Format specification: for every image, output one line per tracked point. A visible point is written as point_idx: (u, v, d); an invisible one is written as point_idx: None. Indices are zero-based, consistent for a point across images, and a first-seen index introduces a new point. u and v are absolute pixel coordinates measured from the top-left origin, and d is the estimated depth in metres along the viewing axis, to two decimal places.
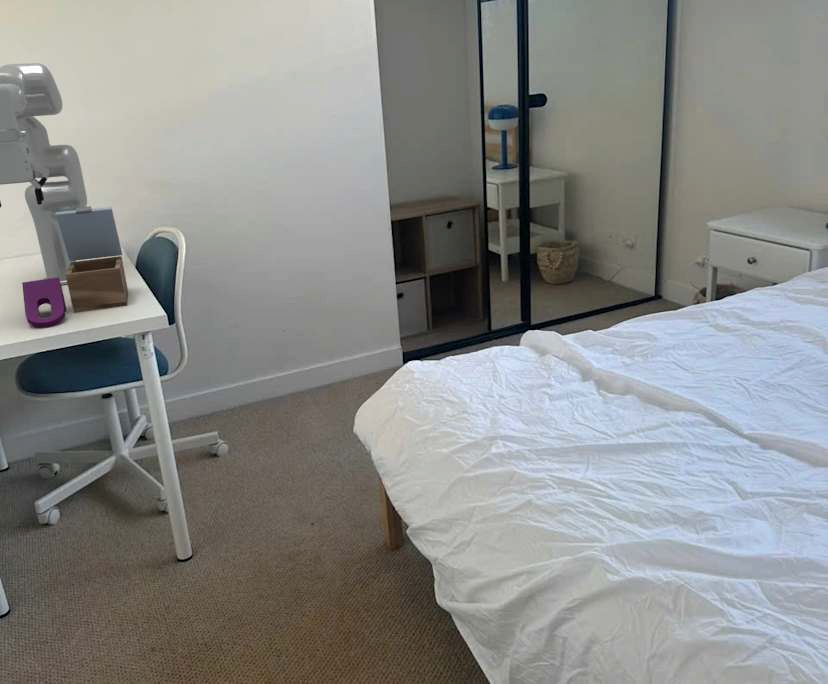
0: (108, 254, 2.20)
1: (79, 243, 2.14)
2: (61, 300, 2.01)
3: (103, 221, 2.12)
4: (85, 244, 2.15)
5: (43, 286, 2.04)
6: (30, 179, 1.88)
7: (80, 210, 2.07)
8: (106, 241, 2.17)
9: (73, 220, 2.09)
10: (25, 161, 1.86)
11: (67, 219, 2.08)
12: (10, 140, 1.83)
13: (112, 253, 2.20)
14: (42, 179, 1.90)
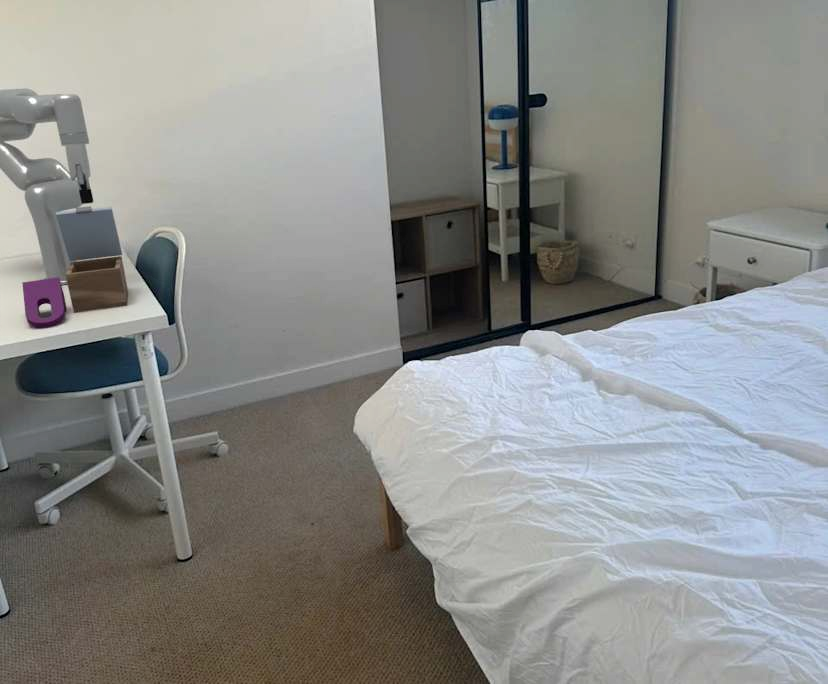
0: (108, 254, 2.20)
1: (79, 243, 2.14)
2: (61, 300, 2.01)
3: (103, 221, 2.12)
4: (85, 244, 2.15)
5: (43, 286, 2.04)
6: None
7: (80, 210, 2.07)
8: (106, 241, 2.17)
9: (73, 220, 2.09)
10: None
11: (67, 219, 2.08)
12: None
13: (112, 253, 2.20)
14: None
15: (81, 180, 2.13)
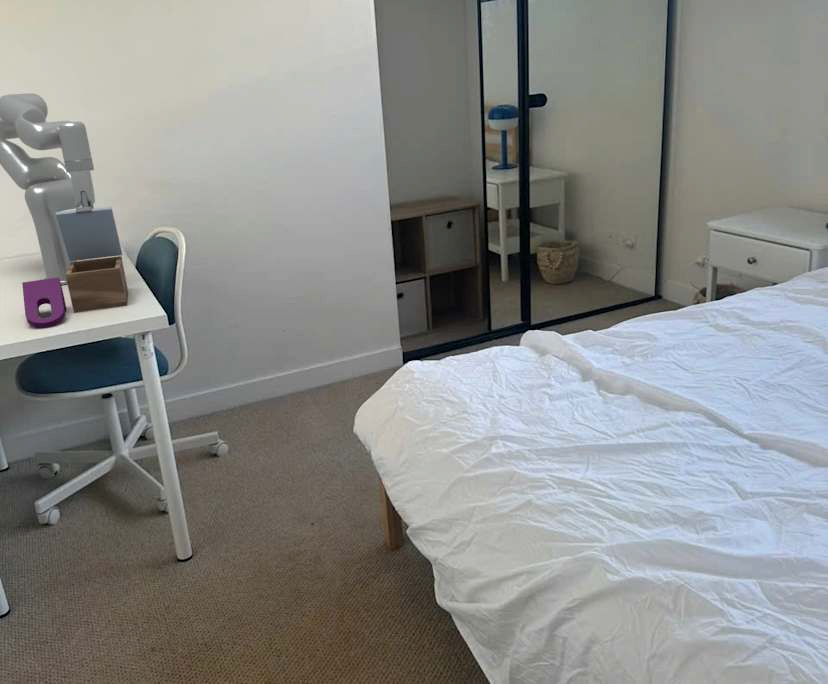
0: (108, 254, 2.20)
1: (79, 243, 2.14)
2: (61, 300, 2.01)
3: (103, 221, 2.12)
4: (85, 244, 2.15)
5: (43, 286, 2.04)
6: None
7: (80, 210, 2.07)
8: (106, 241, 2.17)
9: (73, 220, 2.09)
10: None
11: (67, 219, 2.08)
12: None
13: (112, 253, 2.20)
14: None
15: (86, 206, 2.14)
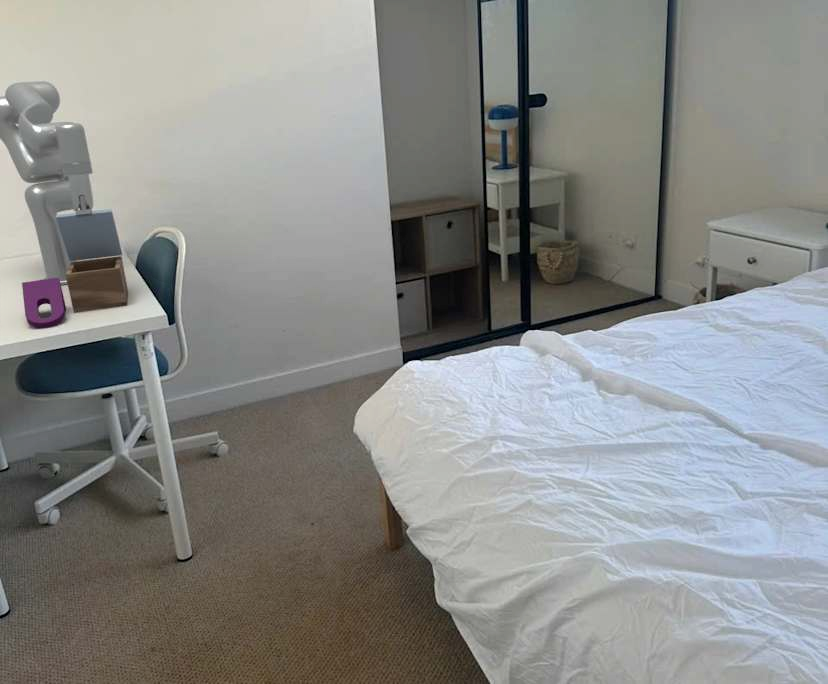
0: (108, 254, 2.20)
1: (79, 244, 2.14)
2: (61, 300, 2.01)
3: (103, 223, 2.11)
4: (85, 245, 2.15)
5: (43, 286, 2.04)
6: None
7: (80, 213, 2.06)
8: (107, 242, 2.16)
9: (73, 222, 2.08)
10: None
11: (67, 221, 2.07)
12: None
13: (112, 253, 2.20)
14: None
15: None
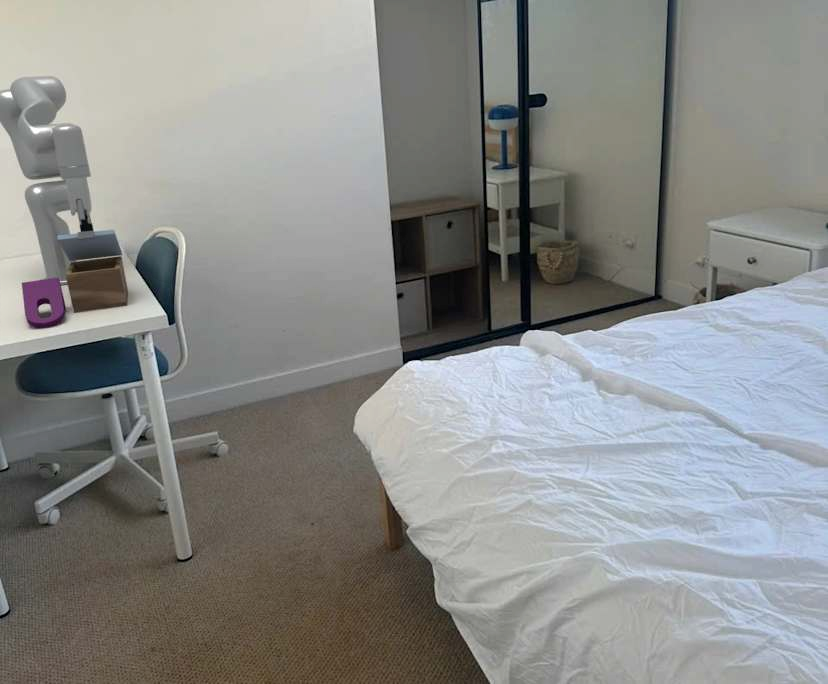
0: (108, 255, 2.20)
1: (80, 252, 2.13)
2: (61, 300, 2.01)
3: (105, 240, 2.09)
4: (86, 252, 2.14)
5: (43, 286, 2.04)
6: None
7: (83, 236, 2.03)
8: (107, 249, 2.15)
9: (75, 241, 2.05)
10: None
11: (69, 241, 2.04)
12: None
13: (112, 254, 2.20)
14: None
15: (82, 215, 2.02)
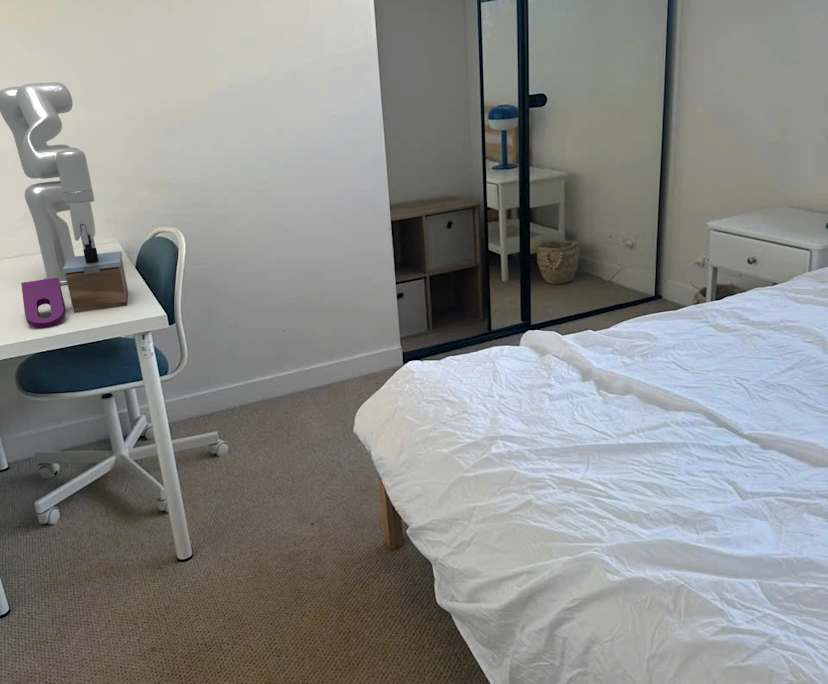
0: None
1: None
2: (61, 300, 2.01)
3: None
4: None
5: (42, 286, 2.04)
6: None
7: (89, 272, 2.04)
8: None
9: None
10: None
11: None
12: None
13: None
14: None
15: (86, 240, 2.01)
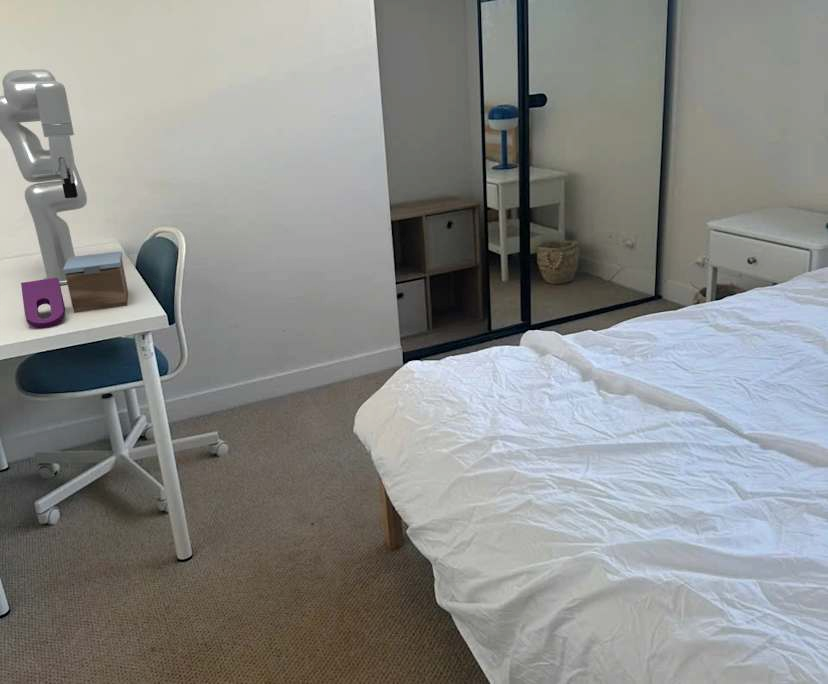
0: None
1: None
2: (60, 300, 2.01)
3: None
4: None
5: (42, 286, 2.04)
6: None
7: (89, 272, 2.04)
8: None
9: None
10: None
11: None
12: None
13: None
14: None
15: (64, 174, 2.02)
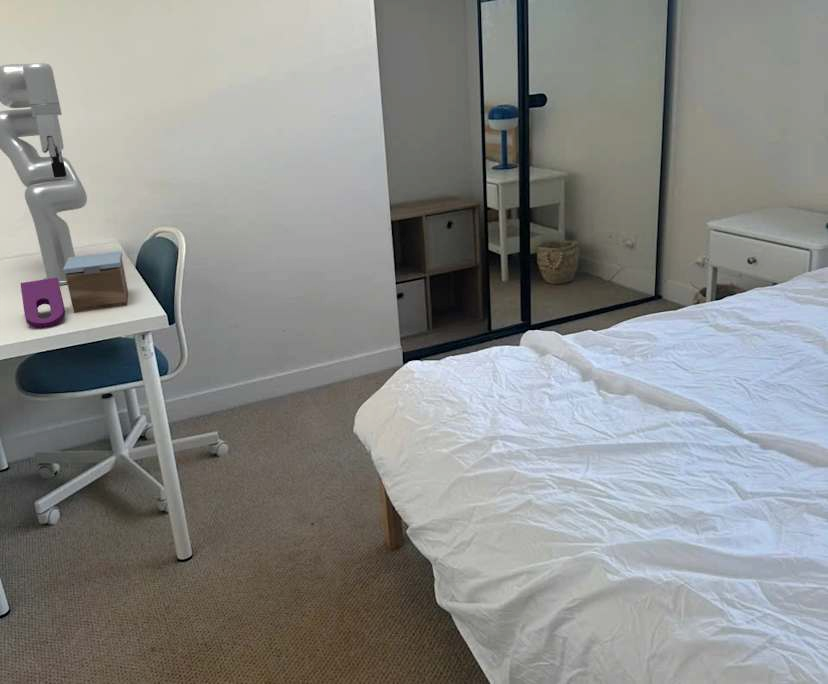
0: None
1: None
2: (60, 300, 2.01)
3: None
4: None
5: (42, 286, 2.04)
6: None
7: (89, 272, 2.04)
8: None
9: None
10: None
11: None
12: None
13: None
14: (60, 153, 2.14)
15: (53, 152, 2.07)
